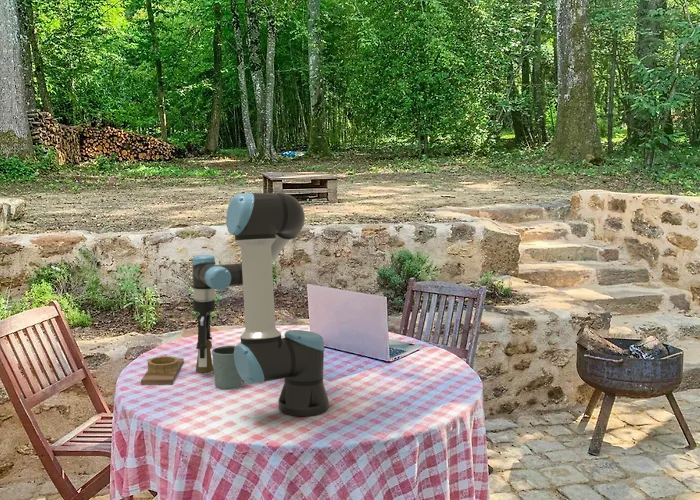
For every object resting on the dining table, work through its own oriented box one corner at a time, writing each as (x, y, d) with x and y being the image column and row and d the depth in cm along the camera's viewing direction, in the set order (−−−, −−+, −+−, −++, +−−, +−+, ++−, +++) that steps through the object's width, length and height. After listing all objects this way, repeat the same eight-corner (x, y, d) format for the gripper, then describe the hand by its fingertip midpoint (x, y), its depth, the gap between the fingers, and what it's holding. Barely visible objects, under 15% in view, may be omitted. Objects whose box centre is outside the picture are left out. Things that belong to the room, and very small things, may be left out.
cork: (209, 374, 225) (208, 343, 223) (192, 372, 226) (192, 341, 224) (216, 368, 231) (215, 338, 229) (200, 367, 232) (199, 337, 230)
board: (172, 384, 213) (171, 371, 213) (140, 385, 212) (140, 371, 212) (183, 362, 237) (183, 350, 236) (155, 362, 236) (155, 350, 235)
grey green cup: (236, 391, 208) (236, 355, 207) (207, 388, 210) (206, 352, 209) (247, 381, 218) (247, 346, 217) (219, 378, 220) (219, 344, 219)
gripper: (197, 293, 235) (197, 353, 238) (188, 306, 214) (188, 372, 217) (218, 293, 236) (218, 353, 239) (211, 306, 215) (211, 372, 218)
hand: (204, 362), depth 228 cm, fingers open, 9 cm apart
